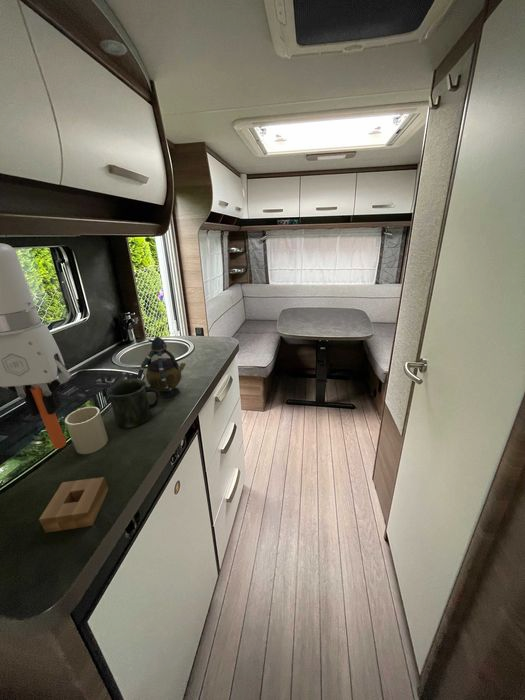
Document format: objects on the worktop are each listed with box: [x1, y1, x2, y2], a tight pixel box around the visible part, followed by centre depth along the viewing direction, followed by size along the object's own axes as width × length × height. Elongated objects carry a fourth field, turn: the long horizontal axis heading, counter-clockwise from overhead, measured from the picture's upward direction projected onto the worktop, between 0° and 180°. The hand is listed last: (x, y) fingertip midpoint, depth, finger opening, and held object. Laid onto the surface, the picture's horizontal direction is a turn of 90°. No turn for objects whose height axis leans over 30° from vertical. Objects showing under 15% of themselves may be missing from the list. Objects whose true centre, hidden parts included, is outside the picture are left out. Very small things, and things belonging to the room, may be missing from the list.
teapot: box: [136, 336, 186, 402], centre depth 103 cm, size 12×25×23 cm, turn 171°
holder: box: [38, 476, 109, 534], centre depth 60 cm, size 9×9×4 cm
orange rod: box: [30, 384, 67, 450], centre depth 55 cm, size 2×2×14 cm
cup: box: [64, 406, 109, 455], centre depth 78 cm, size 8×8×10 cm
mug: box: [105, 378, 160, 429], centre depth 89 cm, size 11×15×12 cm
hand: (46, 410), depth 54 cm, fingers closed on orange rod, 2 cm apart
